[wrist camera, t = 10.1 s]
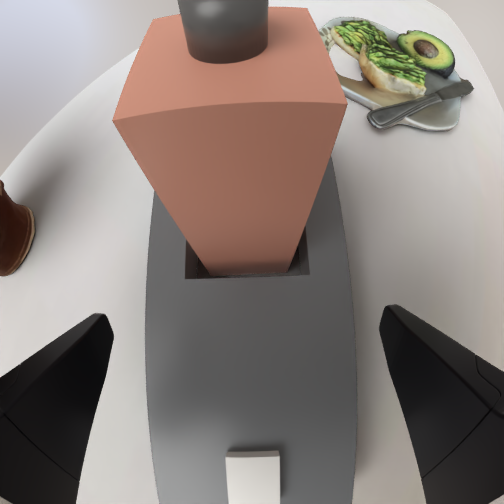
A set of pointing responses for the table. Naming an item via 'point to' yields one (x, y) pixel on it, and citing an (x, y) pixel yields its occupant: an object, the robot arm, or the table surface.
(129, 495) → the table surface
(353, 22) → the salad plate
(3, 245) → the coffee cup
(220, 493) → the grey slotted holder
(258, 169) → the pink capped bottle
